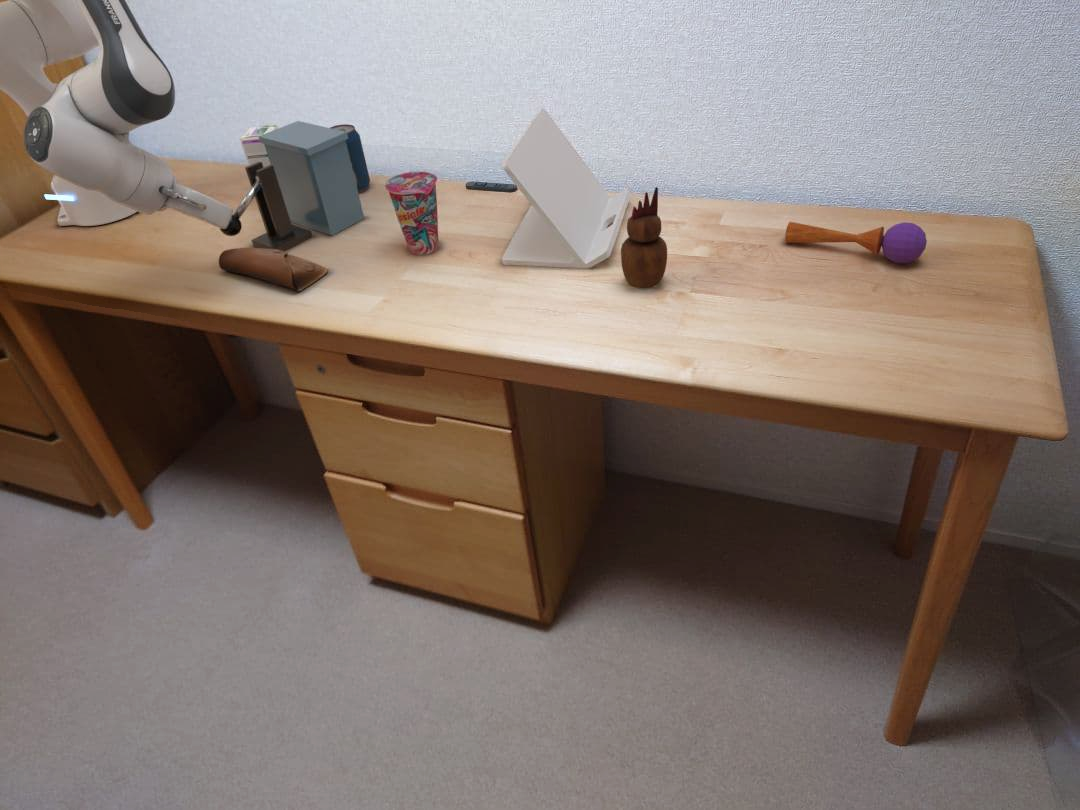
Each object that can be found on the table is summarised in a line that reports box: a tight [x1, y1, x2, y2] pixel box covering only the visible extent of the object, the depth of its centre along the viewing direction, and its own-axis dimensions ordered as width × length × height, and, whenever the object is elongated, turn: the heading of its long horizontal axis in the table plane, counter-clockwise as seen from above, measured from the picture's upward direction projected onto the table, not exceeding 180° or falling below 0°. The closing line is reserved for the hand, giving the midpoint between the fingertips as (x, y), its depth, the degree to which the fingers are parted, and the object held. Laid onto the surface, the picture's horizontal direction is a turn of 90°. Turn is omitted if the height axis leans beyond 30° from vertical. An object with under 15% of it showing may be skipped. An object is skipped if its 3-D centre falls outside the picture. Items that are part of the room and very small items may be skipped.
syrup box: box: [239, 124, 279, 167], centre depth 147 cm, size 6×6×14 cm
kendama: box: [784, 221, 928, 264], centre depth 117 cm, size 6×6×20 cm
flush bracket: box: [244, 162, 313, 252], centre depth 134 cm, size 8×7×14 cm
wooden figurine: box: [620, 186, 668, 290], centre depth 111 cm, size 7×6×15 cm
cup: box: [385, 171, 440, 256], centre depth 127 cm, size 9×8×12 cm
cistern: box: [259, 120, 366, 237], centre depth 139 cm, size 9×14×16 cm, turn 52°
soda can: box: [329, 123, 371, 194], centre depth 151 cm, size 7×7×12 cm
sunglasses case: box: [218, 247, 329, 292], centre depth 128 cm, size 18×7×7 cm
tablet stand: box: [501, 108, 633, 269], centre depth 126 cm, size 18×25×17 cm
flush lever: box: [219, 172, 261, 237], centre depth 130 cm, size 13×4×4 cm
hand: (222, 219), depth 127 cm, fingers closed, pressing on flush lever
